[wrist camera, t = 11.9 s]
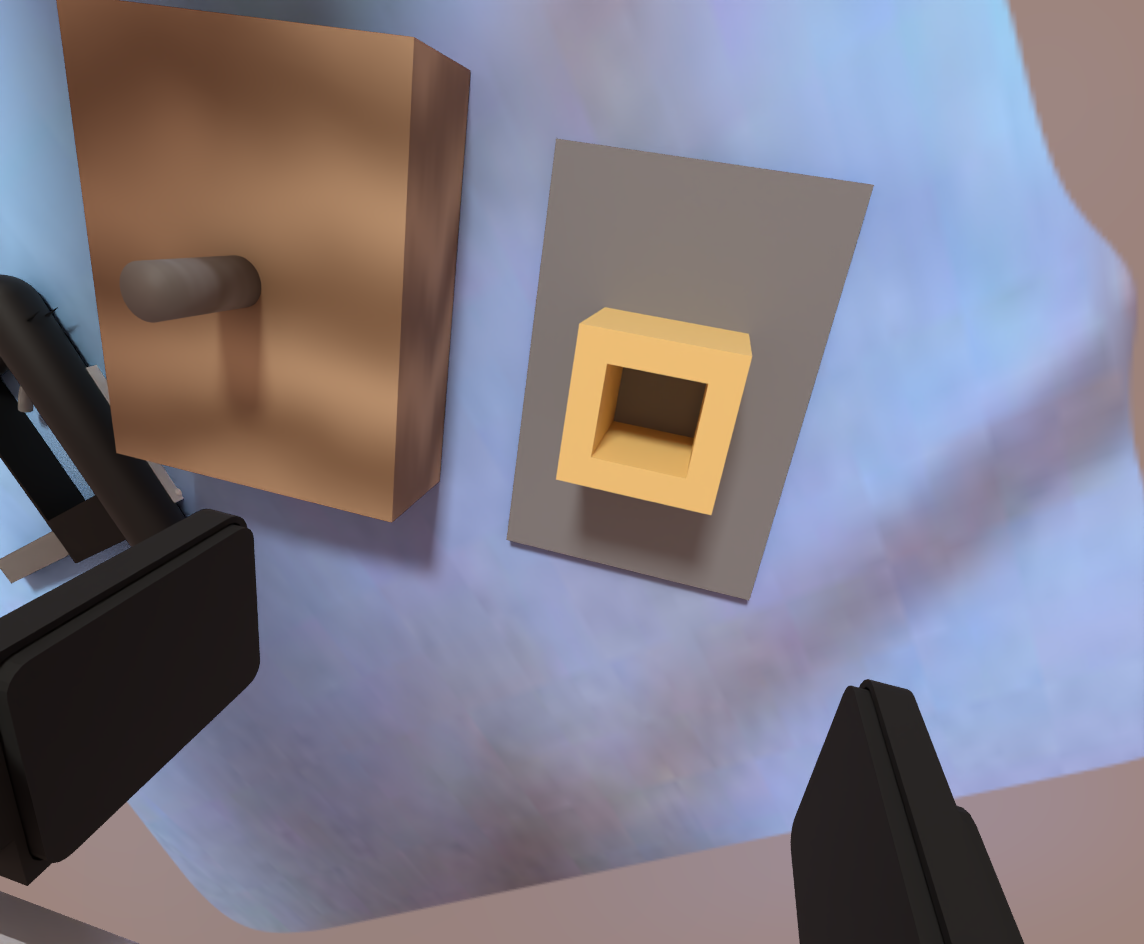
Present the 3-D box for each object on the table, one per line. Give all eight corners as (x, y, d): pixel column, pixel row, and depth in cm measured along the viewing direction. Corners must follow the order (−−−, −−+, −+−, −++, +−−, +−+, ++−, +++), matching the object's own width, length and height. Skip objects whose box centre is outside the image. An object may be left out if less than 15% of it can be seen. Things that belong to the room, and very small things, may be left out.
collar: (605, 307, 27) (579, 323, 23) (748, 333, 26) (752, 356, 22) (583, 440, 29) (555, 479, 25) (714, 469, 29) (711, 515, 24)
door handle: (55, 666, 41) (215, 607, 35) (-157, 383, 37) (-19, 256, 31) (103, 635, 44) (258, 576, 38) (-88, 370, 40) (51, 252, 34)
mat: (559, 140, 26) (556, 138, 25) (870, 185, 24) (873, 185, 23) (510, 534, 33) (506, 539, 32) (748, 593, 31) (749, 600, 30)
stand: (166, 31, 28) (-89, -58, 19) (470, 70, 26) (337, -9, 17) (197, 423, 35) (19, 488, 26) (439, 481, 33) (333, 573, 24)
